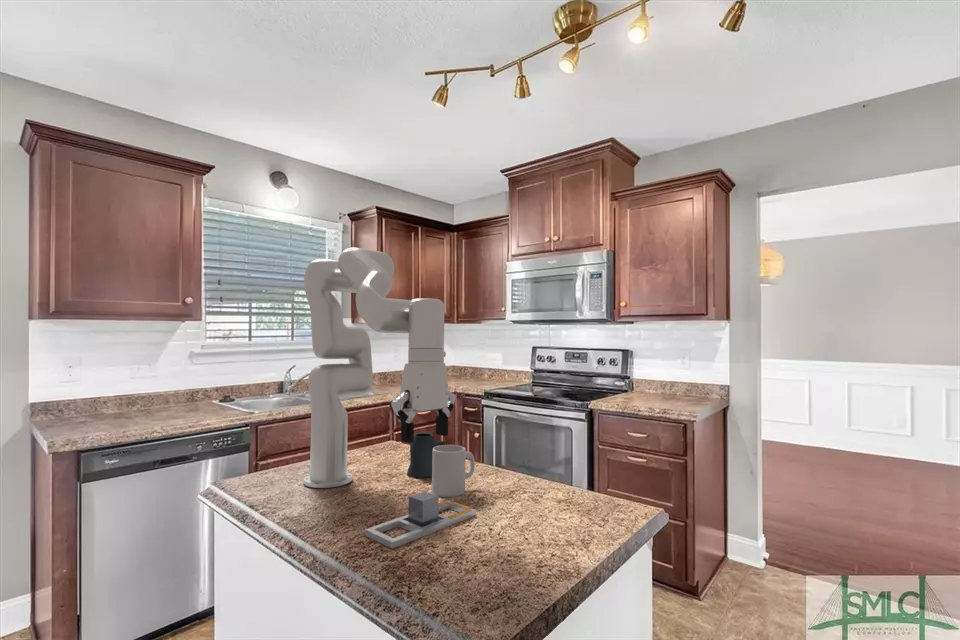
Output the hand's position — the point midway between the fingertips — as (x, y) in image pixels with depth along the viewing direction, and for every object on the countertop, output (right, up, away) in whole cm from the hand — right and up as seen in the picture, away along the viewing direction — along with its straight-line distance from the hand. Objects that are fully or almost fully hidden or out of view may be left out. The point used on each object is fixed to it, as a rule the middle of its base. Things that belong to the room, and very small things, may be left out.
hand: (425, 438), depth 100 cm
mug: (+5, -19, +22) cm, 30 cm away
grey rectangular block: (0, -18, -1) cm, 18 cm away
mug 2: (-4, -20, +38) cm, 43 cm away
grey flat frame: (0, -18, -1) cm, 18 cm away
